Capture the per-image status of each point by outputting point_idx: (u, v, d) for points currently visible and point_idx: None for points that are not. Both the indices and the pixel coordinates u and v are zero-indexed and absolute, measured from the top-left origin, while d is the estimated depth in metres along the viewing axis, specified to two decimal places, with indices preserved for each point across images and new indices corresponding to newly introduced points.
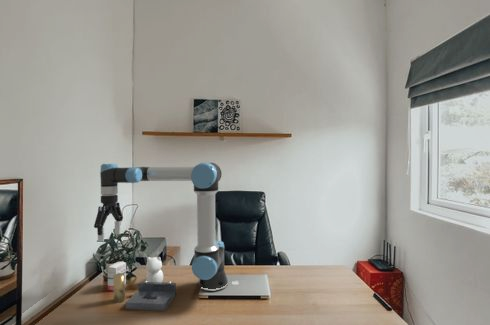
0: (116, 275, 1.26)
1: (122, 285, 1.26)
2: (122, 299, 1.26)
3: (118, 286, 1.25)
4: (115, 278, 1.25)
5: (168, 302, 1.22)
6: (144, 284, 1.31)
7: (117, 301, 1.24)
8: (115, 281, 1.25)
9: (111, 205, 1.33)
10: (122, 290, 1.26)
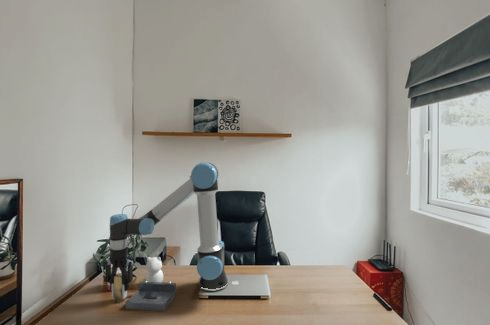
0: (116, 275, 1.26)
1: None
2: (122, 299, 1.26)
3: (118, 286, 1.25)
4: (115, 278, 1.25)
5: (168, 302, 1.22)
6: (144, 284, 1.31)
7: (117, 301, 1.24)
8: (115, 281, 1.25)
9: (117, 259, 1.26)
10: None
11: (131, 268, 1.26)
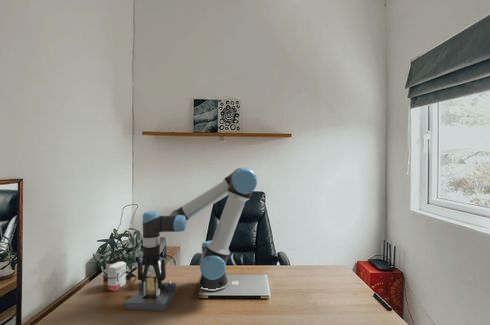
0: (148, 276, 1.25)
1: (155, 286, 1.24)
2: None
3: (151, 288, 1.23)
4: (148, 279, 1.23)
5: (168, 302, 1.22)
6: None
7: None
8: (148, 282, 1.23)
9: (150, 257, 1.24)
10: (155, 291, 1.24)
11: (164, 266, 1.25)
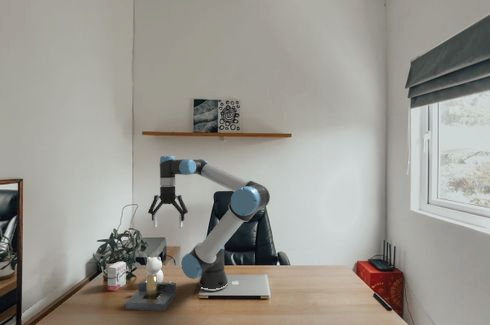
0: (149, 276, 1.25)
1: (155, 286, 1.24)
2: None
3: (151, 288, 1.23)
4: (148, 279, 1.23)
5: (168, 302, 1.22)
6: (144, 284, 1.31)
7: None
8: (148, 282, 1.23)
9: (166, 196, 1.37)
10: (155, 291, 1.24)
11: (182, 201, 1.37)
